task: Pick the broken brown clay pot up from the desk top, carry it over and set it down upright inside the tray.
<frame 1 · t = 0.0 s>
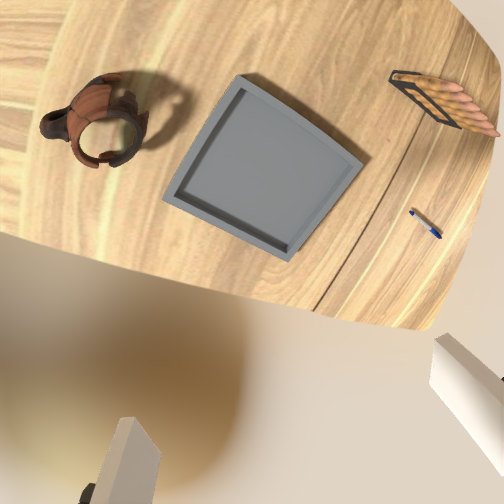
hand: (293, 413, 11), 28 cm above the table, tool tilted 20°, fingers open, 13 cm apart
tray: (263, 173, 34), on the table
broken brown clay pot: (102, 116, 27), on the table
ammunition clip: (416, 97, 30), on the table
ballpoint pen: (424, 224, 42), on the table
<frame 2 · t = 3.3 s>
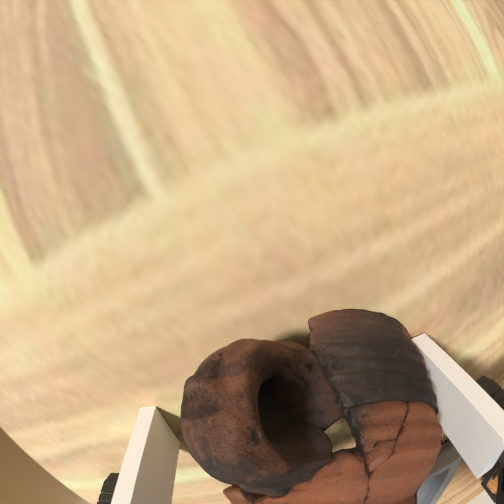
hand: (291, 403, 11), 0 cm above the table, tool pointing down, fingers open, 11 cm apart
broken brown clay pot: (302, 387, 12), on the table, touching gripper
ammunition clip: (491, 467, 20), on the table
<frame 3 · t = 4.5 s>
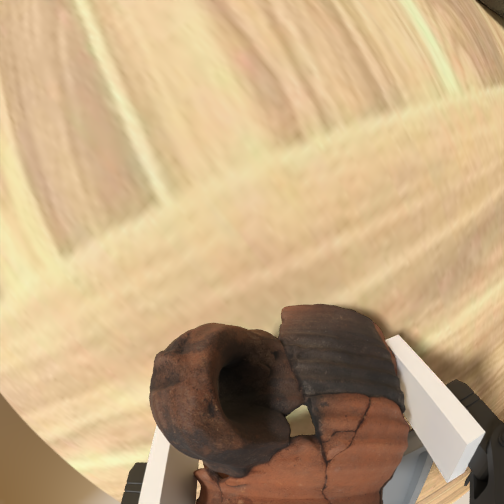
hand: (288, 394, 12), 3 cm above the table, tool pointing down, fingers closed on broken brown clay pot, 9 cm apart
tray: (343, 501, 19), on the table
broken brown clay pot: (276, 378, 12), point 2 cm above the table, touching gripper
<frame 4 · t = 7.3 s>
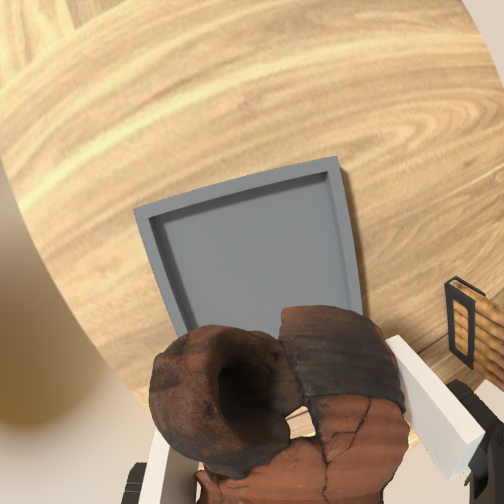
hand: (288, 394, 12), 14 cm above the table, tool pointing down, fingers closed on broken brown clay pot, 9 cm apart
tray: (261, 283, 25), on the table
broken brown clay pot: (276, 379, 12), point 13 cm above the table, touching gripper
ammunition clip: (452, 315, 28), on the table
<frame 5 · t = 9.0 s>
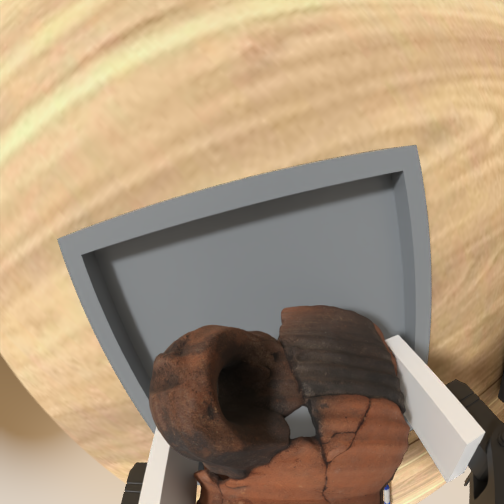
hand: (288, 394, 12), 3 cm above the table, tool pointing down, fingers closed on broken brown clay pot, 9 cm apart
tray: (278, 353, 15), on the table
broken brown clay pot: (276, 379, 12), point 2 cm above the table, touching gripper
ballpoint pen: (385, 495, 22), on the table
when the fingers open (3 cm above the table, at t = 10.1 s): broken brown clay pot drops 1 cm, resting on tray.
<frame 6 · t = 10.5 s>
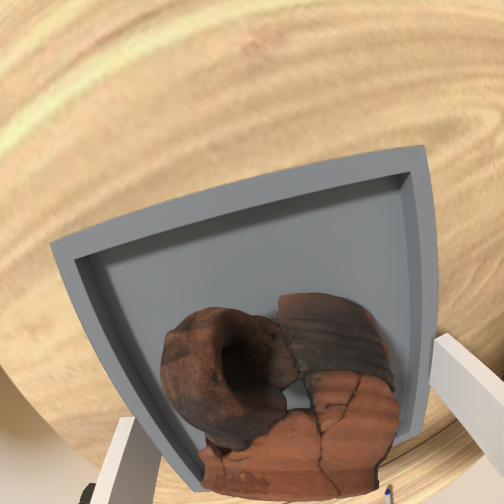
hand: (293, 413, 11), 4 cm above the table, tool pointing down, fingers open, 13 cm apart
tray: (280, 360, 14), on the table
broken brown clay pot: (275, 364, 14), point 1 cm above the table, touching tray
ballpoint pen: (386, 499, 22), on the table
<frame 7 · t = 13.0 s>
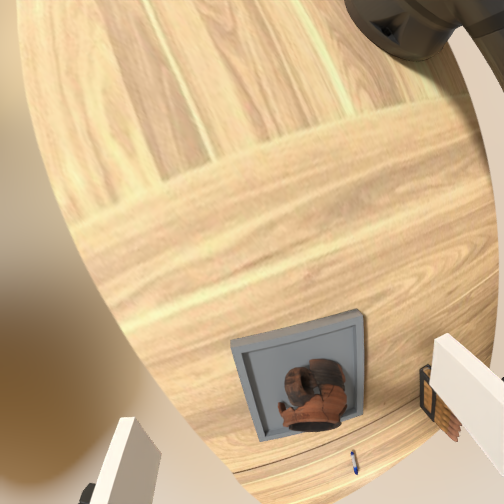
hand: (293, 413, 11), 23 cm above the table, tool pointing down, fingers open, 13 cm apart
tray: (304, 380, 37), on the table
broken brown clay pot: (304, 381, 36), point 1 cm above the table, touching tray
ammunition clip: (423, 386, 40), on the table
ballpoint pen: (353, 461, 44), on the table
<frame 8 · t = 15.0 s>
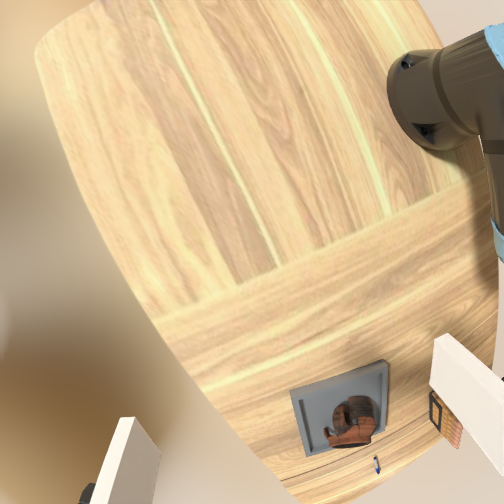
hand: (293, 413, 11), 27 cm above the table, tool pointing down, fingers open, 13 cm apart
tray: (341, 410, 44), on the table
broken brown clay pot: (343, 411, 44), point 1 cm above the table, touching tray
ammunition clip: (432, 404, 48), on the table
ballpoint pen: (375, 464, 52), on the table
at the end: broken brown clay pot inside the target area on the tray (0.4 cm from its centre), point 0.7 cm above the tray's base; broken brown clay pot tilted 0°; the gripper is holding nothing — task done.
